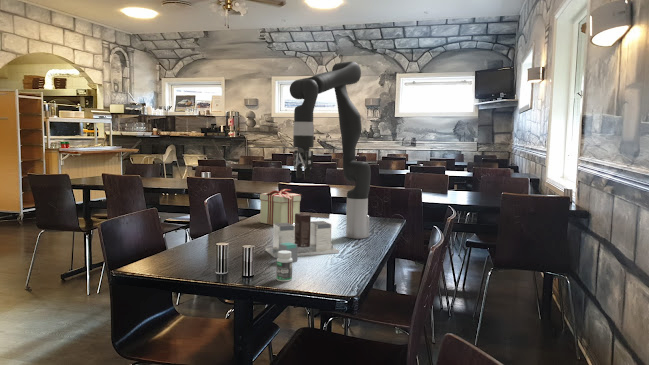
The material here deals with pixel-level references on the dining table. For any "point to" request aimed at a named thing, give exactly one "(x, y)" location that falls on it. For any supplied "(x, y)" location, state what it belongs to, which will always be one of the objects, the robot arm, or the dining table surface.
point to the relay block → (289, 249)
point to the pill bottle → (284, 266)
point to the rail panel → (318, 239)
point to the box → (302, 229)
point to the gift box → (279, 207)
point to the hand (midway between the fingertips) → (303, 178)
